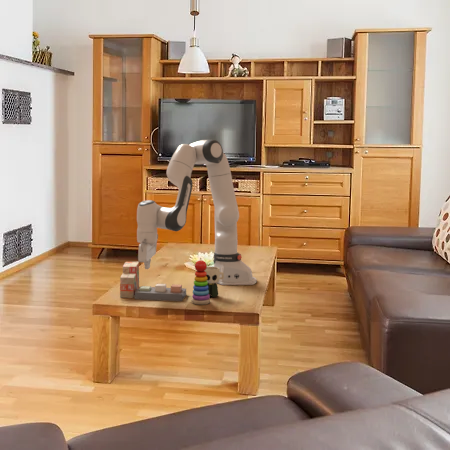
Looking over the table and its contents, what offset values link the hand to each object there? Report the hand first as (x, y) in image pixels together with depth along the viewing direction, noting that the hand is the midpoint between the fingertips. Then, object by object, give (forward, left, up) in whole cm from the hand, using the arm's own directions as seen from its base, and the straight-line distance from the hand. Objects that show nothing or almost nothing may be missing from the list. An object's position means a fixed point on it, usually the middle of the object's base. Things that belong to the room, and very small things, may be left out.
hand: (147, 268), depth 299 cm
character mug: (-28, -5, -13) cm, 31 cm away
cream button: (-6, 0, -10) cm, 12 cm away
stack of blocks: (+10, -7, -13) cm, 18 cm away
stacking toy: (-25, +7, -13) cm, 29 cm away
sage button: (+1, 0, -12) cm, 12 cm away
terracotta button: (-13, 0, -10) cm, 17 cm away
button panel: (-6, 0, -13) cm, 14 cm away
